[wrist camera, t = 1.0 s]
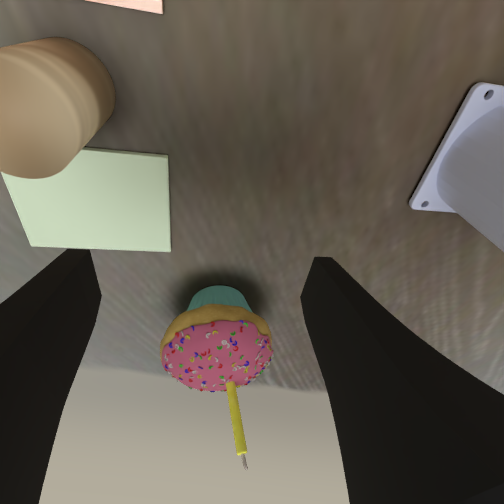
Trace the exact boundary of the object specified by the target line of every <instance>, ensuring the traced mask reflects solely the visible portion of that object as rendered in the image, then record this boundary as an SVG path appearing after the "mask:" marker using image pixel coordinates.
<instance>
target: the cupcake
mask: <svg viewBox="0 0 504 504" xmlns="http://www.w3.org/2000/svg"><path fill="white" fill-rule="evenodd" d="M271 344H272V338H271V332H270V330H269V327H268V324H267V322H266V321H265V320H264V319H263V318H261V317H260V316H258V315H256V314H254V313H253V312H252V310H251V309H250V307H249V306H248V304H247V302H246V300H245V298H244V296H243V295H242V294H241V293H240V292H239V291H238V290H236V289H234V288H232V287H228V286H222V285H217V286H210V287H207V288H204V289H202V290H200V291H199V292H197V293H196V294H195V295H194V296H193V298H192V300H191V302H190V305H189V307H188V309H187V311H185V312H183V313H181V314H180V315H179V316H177V317H176V318H175V319H174V320H173V322H172V323H171V324H170V326H169V327H168V328H167V330H166V333H165V335H164V338H163V339H162V341H161V344H160V357H161V362H162V365H163V367H164V368H165V370H166V371H167V372H168V374H169V373H171V374H172V377H175V378H176V379H177V382H178V380H179V381H180V382H182V383H183V384H185V385H186V386H188V387H189V388H190V387H191V389H192V388H195V389H197V390H200V391H203V390H206V391H210V392H215V391H227V394H228V401H229V407H230V413H231V420H232V426H233V432H234V439H235V445H236V451H237V455H241V457H242V460H243V465H244V468H245V470H246V469H248V467H247V464H246V459H245V455H244V454H245V453H247V448H246V442H245V437H244V431H243V426H242V420H241V415H240V409H239V403H238V398H237V392H236V387H237V388H238V387H240V386H244V385H247V384H248V383H249V382H250V381H254V380H255V377H256V376H258V375H259V374H261V372H263V369H265V368H266V367H267V365H269V364H270V362H269V361H271V357H273V356H272V355H273V350H272V349H271ZM253 378H254V379H253Z"/></svg>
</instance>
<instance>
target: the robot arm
mask: <svg viewBox="0 0 504 504" xmlns="http://www.w3.org/2000/svg"><path fill="white" fill-rule="evenodd" d="M487 91H489V92H488V94H487V96H486V97H484V95H485V93H486V92H487ZM424 201H425V202H424ZM423 202H424V203H423ZM422 203H423V204H422ZM409 205H410V207H411V208H412V209H415V210H428V211H441V212H454V213H458V214H459V215H460V216H461V217H463V218H464V219H465V220H466V221H467V222H468V223H470V224H471V225H472V226H473V227H474V228H476V229H477V230H478V231H479V232H480V233H482V234H483V235H484V236H485V237H486V238H487V239H489V240H490V241H491V242H492V243H493V244H495V245H496V246H497V247H498V248H499V249H500V250H502V251H503V252H504V86H502V85H496V84H490V83H485V82H479V83H477V84H475V85H474V86H473V87H472V88H471V89H470V91H469V93H468V94H467V96H466V98H465V100H464V102H463V104H462V106H461V107H460V109H459V111H458V113H457V115H456V117H455V118H454V120H453V122H452V124H451V126H450V128H449V129H448V131H447V133H446V135H445V137H444V139H443V140H442V142H441V144H440V146H439V148H438V150H437V152H436V153H435V155H434V157H433V159H432V161H431V163H430V164H429V166H428V168H427V170H426V172H425V174H424V175H423V177H422V179H421V181H420V183H419V185H418V186H417V188H416V190H415V192H414V194H413V196H412V198H411V199H410V201H409ZM101 296H102V295H101V291H100V288H99V284H98V280H97V276H96V272H95V268H94V265H93V261H92V257H91V253H90V250H85V249H67V250H66V251H64V252H63V253H62V254H61V255H60V256H58V257H57V258H56V259H55V260H54V261H52V262H51V263H50V264H49V265H48V266H46V267H45V268H44V269H43V270H42V271H40V272H39V273H38V274H37V275H36V276H34V277H33V278H32V279H31V280H30V281H28V282H27V283H26V284H25V285H23V286H22V287H21V288H20V289H19V290H17V291H16V292H15V293H14V294H12V295H11V296H10V297H9V298H7V299H6V300H5V301H4V302H2V303H1V304H0V504H39V500H40V495H41V491H42V486H43V482H44V479H45V475H46V471H47V467H48V463H49V459H50V455H51V451H52V447H53V444H54V440H55V436H56V433H57V429H58V425H59V422H60V418H61V415H62V411H63V408H64V405H65V402H66V399H67V396H68V394H69V391H70V388H71V386H72V383H73V381H74V378H75V375H76V373H77V370H78V368H79V365H80V363H81V360H82V357H83V355H84V352H85V350H86V347H87V344H88V342H89V339H90V337H91V334H92V331H93V328H94V326H95V322H96V318H97V314H98V310H99V305H100V301H101ZM300 298H301V303H302V309H303V314H304V319H305V324H306V327H307V330H308V333H309V336H310V339H311V342H312V345H313V348H314V351H315V354H316V357H317V360H318V363H319V366H320V369H321V372H322V375H323V378H324V381H325V385H326V388H327V392H328V395H329V399H330V404H331V408H332V413H333V417H334V421H335V426H336V431H337V436H338V441H339V446H340V450H341V455H342V461H343V467H344V472H345V478H346V483H347V489H348V495H349V502H350V504H504V395H503V394H502V393H500V392H498V391H497V390H495V389H493V388H492V387H490V386H489V385H487V384H485V383H484V382H482V381H481V380H479V379H477V378H476V377H474V376H473V375H471V374H470V373H468V372H467V371H465V370H464V369H462V368H461V367H459V366H458V365H456V364H455V363H453V362H452V361H451V360H449V359H448V358H446V357H445V356H443V355H442V354H441V353H439V352H438V351H437V350H435V349H434V348H433V347H431V346H430V345H429V344H427V343H426V342H425V341H423V340H422V339H421V338H419V337H418V336H417V335H416V334H414V333H413V332H412V331H411V330H409V329H408V328H407V327H406V326H405V325H403V324H402V323H401V322H400V321H399V320H398V319H396V318H395V317H394V316H393V315H392V314H391V313H389V312H388V311H387V310H386V309H385V308H384V307H383V306H382V305H381V304H380V303H378V302H377V301H376V300H375V299H374V298H373V297H372V296H371V295H370V294H369V293H368V292H367V291H366V290H365V289H364V288H363V287H362V286H361V285H360V284H359V283H358V282H357V281H355V280H354V279H353V278H352V277H351V276H350V275H349V274H348V273H347V272H346V271H345V270H344V269H343V268H342V267H341V266H340V265H339V264H338V263H337V262H336V261H335V260H334V259H333V258H332V257H314V260H313V263H312V266H311V268H310V271H309V274H308V277H307V280H306V282H305V285H304V288H303V291H302V294H301V296H300Z"/></svg>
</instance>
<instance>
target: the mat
mask: <svg viewBox="0 0 504 504" xmlns="http://www.w3.org/2000/svg"><path fill="white" fill-rule="evenodd" d="M1 173H2V176H3V178H4V181H5V183H6V186H7V188H8V191H9V193H10V196H11V198H12V200H13V203H14V205H15V208H16V210H17V213H18V215H19V218H20V220H21V222H22V225H23V227H24V230H25V232H26V235H27V237H28V240H29V242H30V244H31V246H39V247H63V248H87V249H111V250H135V251H160V252H171V230H170V199H169V168H168V155H160V154H150V153H140V152H129V151H119V150H109V149H98V148H88V147H83V148H82V149H81V151H80V152H79V153H78V154H77V155H76V156H75V157H74V159H73V160H72V161H71V162H70V163H69V164H68V165H67V166H66V168H64V169H63V170H62V171H61V172H59V173H57V174H56V175H53V176H51V177H47V178H41V179H27V178H20V177H15V176H12V175H8V174H5V173H3V172H1Z"/></svg>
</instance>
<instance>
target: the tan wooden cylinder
mask: <svg viewBox="0 0 504 504" xmlns="http://www.w3.org/2000/svg"><path fill="white" fill-rule="evenodd" d="M115 100H116V96H115V88H114V84H113V81H112V79H111V76H110V74H109V73H108V71H107V69H106V67H105V66H104V65H103V63H102V62H101V61H100V60H99V58H98V57H97V56H96V55H95V54H93V53H92V52H91V51H90V50H89V49H87V48H86V47H84V46H83V45H81V44H79V43H77V42H75V41H73V40H70V39H66V38H62V37H49V38H44V39H40V40H35V41H30V42H25V43H20V44H16V45H11V46H6V47H1V48H0V172H3V173H5V174H8V175H12V176H15V177H20V178H27V179H41V178H47V177H51V176H53V175H56V174H57V173H59V172H61V171H62V170H63V169H64V168H66V166H67V165H68V164H69V163H70V162H71V161H72V160H73V159H74V157H75V156H76V155H77V154H78V153H79V152H80V151H81V149H82V148H83V147H84V146H85V145H86V144H87V143H88V142H89V140H90V139H91V138H92V137H93V136H94V135H95V134H96V132H97V131H98V130H99V129H100V128H101V127H102V126H103V125H104V123H105V122H106V121H107V120H108V119H109V118H110V116H111V115H112V113H113V110H114V107H115Z"/></svg>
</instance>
